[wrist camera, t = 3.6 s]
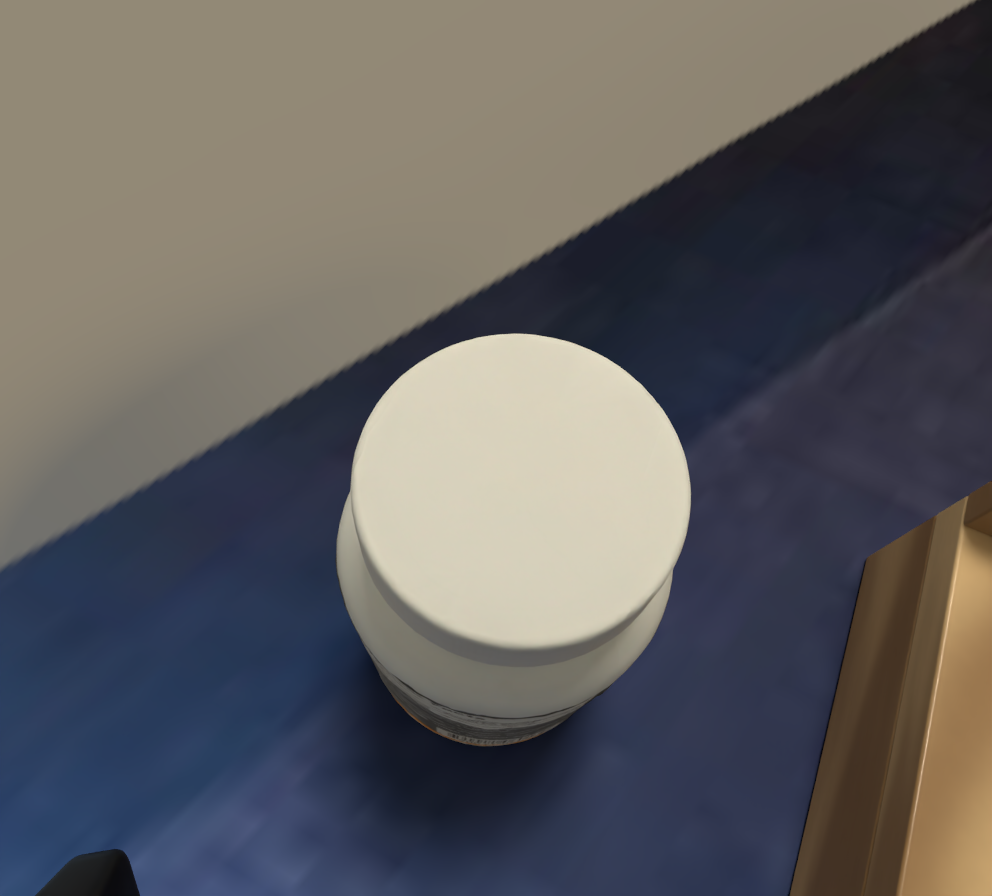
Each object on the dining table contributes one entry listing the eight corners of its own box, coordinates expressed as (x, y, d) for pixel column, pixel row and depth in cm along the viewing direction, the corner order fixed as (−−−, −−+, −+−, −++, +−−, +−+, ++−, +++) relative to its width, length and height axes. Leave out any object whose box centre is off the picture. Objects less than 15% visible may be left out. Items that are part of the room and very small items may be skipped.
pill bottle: (464, 483, 21) (476, 237, 12) (643, 607, 20) (803, 435, 11) (324, 654, 19) (215, 509, 10) (516, 805, 18) (587, 793, 9)
